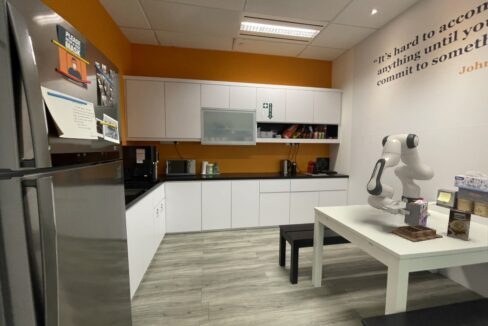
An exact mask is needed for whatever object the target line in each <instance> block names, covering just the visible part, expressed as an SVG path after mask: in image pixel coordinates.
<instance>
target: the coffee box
mask: <svg viewBox="0 0 488 326" xmlns="http://www.w3.org/2000/svg"><path fill="white" fill-rule="evenodd" d="M471 221H472V211H469V210H468V211H467V210H463V209H457V208H449V215H448V222H447V223H448V225H447V231H446V237H449V238H450V237H451V238H455V239H459V240H464V241H469V236H470V228H471Z"/></svg>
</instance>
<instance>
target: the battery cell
mask: <svg viewBox="0 0 488 326" xmlns="http://www.w3.org/2000/svg"><path fill="white" fill-rule="evenodd" d="M420 208H421V205H419V204H416V203H414V202H410V203H406V207H405V210H406V211H411V214H409V215H408V214H405V215H404V220H403V221H404V222H403V223H404V224H407V225H412V226H414V225H419V218H420Z"/></svg>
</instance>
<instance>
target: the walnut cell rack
mask: <svg viewBox="0 0 488 326" xmlns="http://www.w3.org/2000/svg"><path fill="white" fill-rule="evenodd" d="M389 232H390V233H391V234H393V235H395V236H398V237H400V238H403V239H405V240H407V241H409V242H413V243H419V242H423V241H429V240H436V239H441V238H444V237H443V236H444V235H442V234H439V233H437V229H435V228H431V227H429V226H426V225H425V226H423V225H420V224H419V225H414V226H412V225H409V224H407V225H402V226H397V227H396V229H394V230H393V229H392V230H390V231H389Z"/></svg>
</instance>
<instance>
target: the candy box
mask: <svg viewBox="0 0 488 326" xmlns="http://www.w3.org/2000/svg"><path fill="white" fill-rule="evenodd" d="M414 203H416V204H419V205H421V208H420V218H419V224H420V225H423V226H426V225H427V221H428V216H427V213H429V212H428V211H429V210H428V209H429V201H427V200H418V201H416V202H414Z"/></svg>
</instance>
